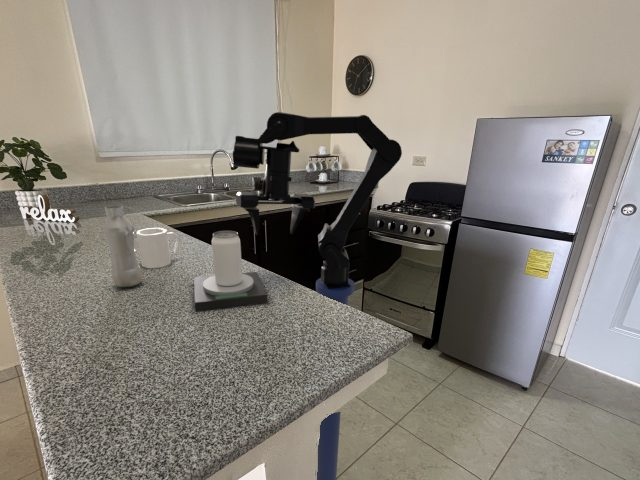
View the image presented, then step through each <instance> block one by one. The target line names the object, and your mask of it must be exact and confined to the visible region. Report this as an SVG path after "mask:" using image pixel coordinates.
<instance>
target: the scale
mask: <svg viewBox="0 0 640 480" xmlns="http://www.w3.org/2000/svg"><path fill="white" fill-rule="evenodd" d="M193 278H194V279H193V291H194V292H193V293H194V294H193V295H194V308H195V312H196V313H197V312H203V311H212V310H220V309H228V308H229V309H230V308H236V307H245V306H252V305H262V304H267V303H268V294H267V291H266V289H265V287H264V285H263V282H262V280H261V278H260V276H259V274H258V271H250V272H249V271H248V272H242V281H241V283H240V284H238V285H235V286H228V287H226V286H220V285H218V284H217V283H216V282H215V274H214V275H207V276H196V277H193Z"/></svg>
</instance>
